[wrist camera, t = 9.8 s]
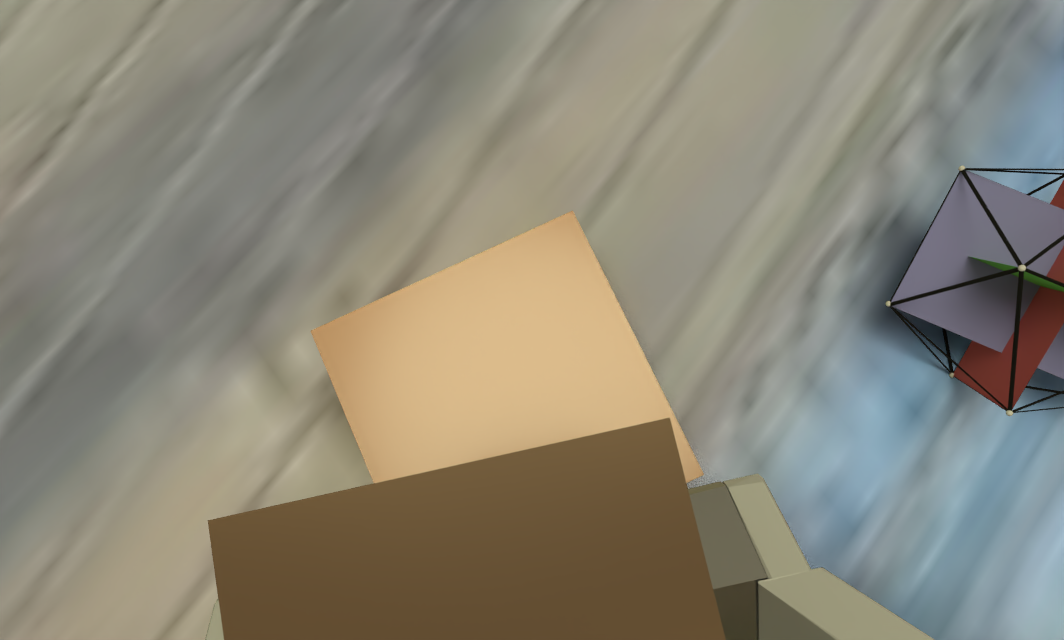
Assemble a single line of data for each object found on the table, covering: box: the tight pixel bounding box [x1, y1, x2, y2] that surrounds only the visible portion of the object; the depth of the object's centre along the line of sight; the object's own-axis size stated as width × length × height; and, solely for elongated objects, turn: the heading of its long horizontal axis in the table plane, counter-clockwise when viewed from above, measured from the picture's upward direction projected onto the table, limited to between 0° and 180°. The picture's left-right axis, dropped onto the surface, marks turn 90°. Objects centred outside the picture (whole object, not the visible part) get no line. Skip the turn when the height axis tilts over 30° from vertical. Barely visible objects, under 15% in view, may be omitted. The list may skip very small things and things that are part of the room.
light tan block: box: [311, 211, 704, 483], centre depth 22 cm, size 8×8×4 cm
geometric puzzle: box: [886, 166, 1064, 416], centre depth 21 cm, size 7×7×8 cm
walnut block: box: [208, 418, 726, 640], centre depth 11 cm, size 4×4×9 cm
